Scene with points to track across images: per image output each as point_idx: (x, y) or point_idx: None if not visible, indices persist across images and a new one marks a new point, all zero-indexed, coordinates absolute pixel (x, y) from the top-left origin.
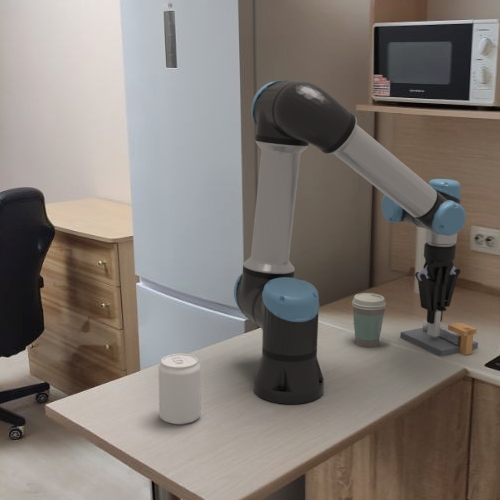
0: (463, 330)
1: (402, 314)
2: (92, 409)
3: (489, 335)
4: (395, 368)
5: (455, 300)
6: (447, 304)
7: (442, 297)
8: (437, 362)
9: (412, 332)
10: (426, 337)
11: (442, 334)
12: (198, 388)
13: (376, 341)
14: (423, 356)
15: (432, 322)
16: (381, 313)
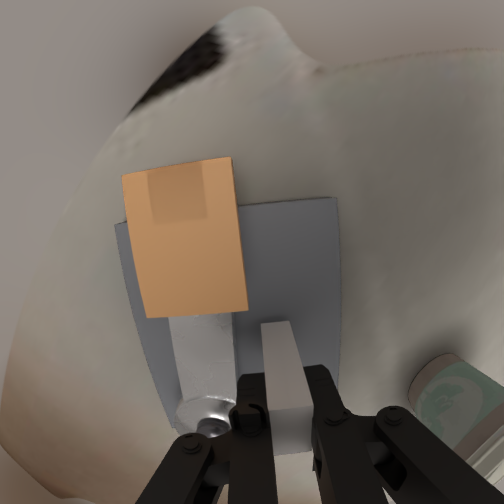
0: (223, 178)
1: None
2: None
3: (36, 310)
4: (492, 185)
5: (58, 474)
6: (201, 446)
7: (266, 502)
8: (376, 156)
9: None
10: None
11: (234, 331)
12: None
13: (444, 363)
14: (386, 229)
15: (313, 369)
16: (495, 412)
